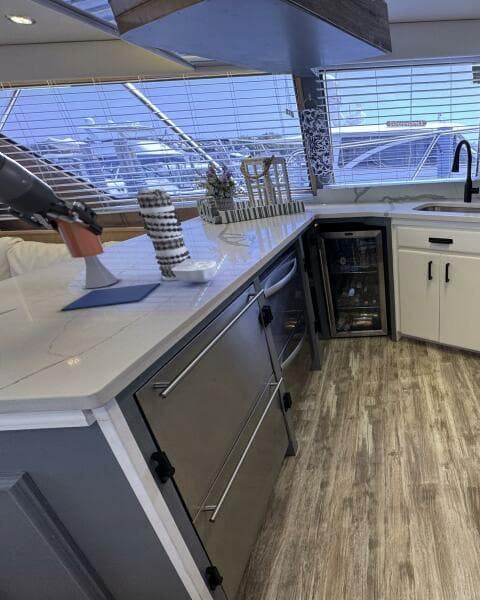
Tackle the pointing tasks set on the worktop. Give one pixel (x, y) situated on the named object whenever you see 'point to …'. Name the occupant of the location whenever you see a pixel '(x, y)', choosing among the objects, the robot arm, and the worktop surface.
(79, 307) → the cloth
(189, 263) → the white rounded container
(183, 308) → the worktop surface
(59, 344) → the worktop surface
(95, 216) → the robot arm
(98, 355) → the worktop surface
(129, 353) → the worktop surface
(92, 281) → the flask
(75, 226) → the cup
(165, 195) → the decorative candle
